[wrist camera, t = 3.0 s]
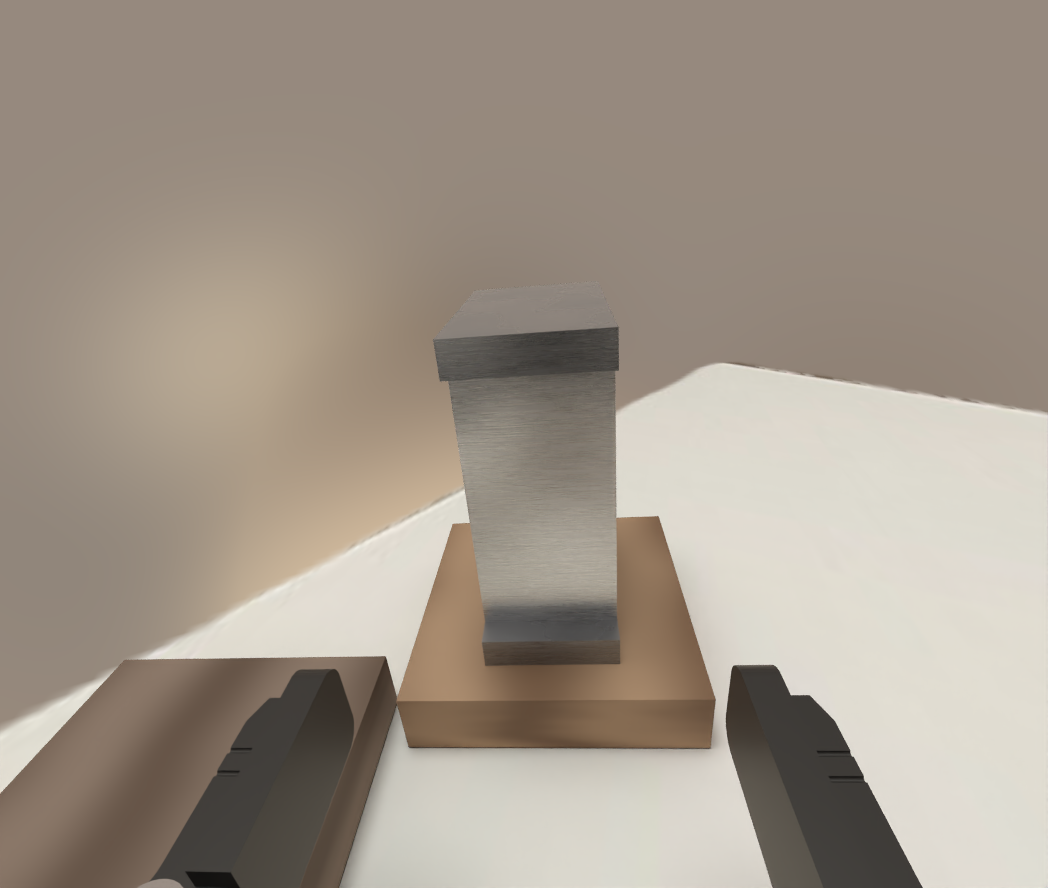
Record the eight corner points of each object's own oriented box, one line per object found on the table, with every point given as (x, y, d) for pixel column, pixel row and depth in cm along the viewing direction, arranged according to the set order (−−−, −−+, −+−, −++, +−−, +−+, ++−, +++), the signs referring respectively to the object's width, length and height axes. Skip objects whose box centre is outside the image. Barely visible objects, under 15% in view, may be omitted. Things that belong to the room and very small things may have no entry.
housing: (603, 535, 26) (597, 280, 21) (620, 664, 19) (618, 327, 14) (504, 538, 27) (475, 290, 21) (485, 665, 20) (433, 339, 14)
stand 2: (657, 554, 28) (658, 516, 27) (710, 747, 18) (715, 699, 17) (459, 560, 29) (452, 523, 28) (408, 747, 19) (396, 701, 18)
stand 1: (397, 700, 21) (385, 656, 20) (259, 1137, 11) (222, 1096, 10) (148, 701, 22) (124, 659, 21) (-177, 1105, 12) (-253, 1065, 11)
